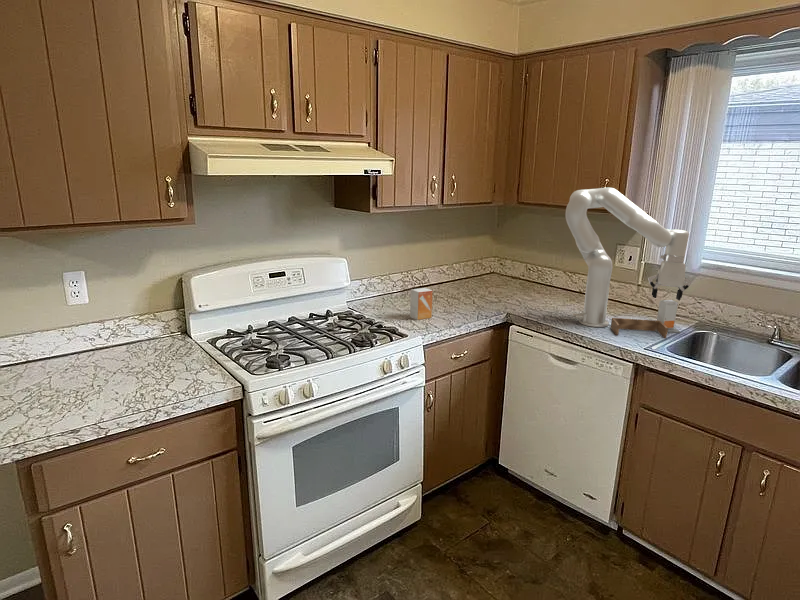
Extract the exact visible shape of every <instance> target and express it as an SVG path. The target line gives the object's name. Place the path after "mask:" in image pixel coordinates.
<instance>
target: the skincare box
mask: <svg viewBox="0 0 800 600" xmlns="http://www.w3.org/2000/svg"><path fill="white" fill-rule="evenodd" d="M678 305H679V302H678V301H675V300H673V299H665V300H664V299H663V300H659V302H658V309H657V310H658V311H657V317H656V321H661V322H662V323H663V324H664V325H665V326H666V327H668V329H674V327H675V324H676V323H675V322H676V317H677V310H678Z"/></svg>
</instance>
